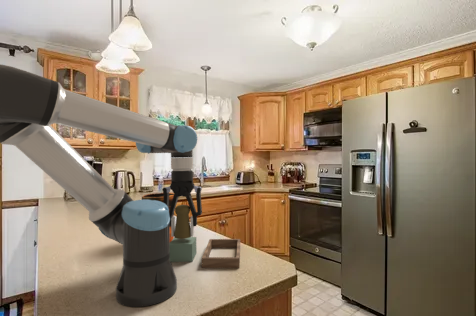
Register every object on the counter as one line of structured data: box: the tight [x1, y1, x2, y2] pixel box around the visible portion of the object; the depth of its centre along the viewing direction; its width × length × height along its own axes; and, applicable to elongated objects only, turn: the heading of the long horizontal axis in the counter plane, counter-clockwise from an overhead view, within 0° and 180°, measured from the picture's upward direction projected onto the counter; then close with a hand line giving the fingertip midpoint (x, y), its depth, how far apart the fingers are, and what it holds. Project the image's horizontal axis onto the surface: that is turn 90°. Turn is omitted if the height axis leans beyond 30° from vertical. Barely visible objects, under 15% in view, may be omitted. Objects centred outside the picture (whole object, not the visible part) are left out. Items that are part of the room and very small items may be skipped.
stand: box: [170, 236, 197, 263], centre depth 95 cm, size 8×8×6 cm
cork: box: [174, 204, 191, 239], centre depth 95 cm, size 6×6×11 cm
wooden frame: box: [201, 238, 241, 269], centre depth 95 cm, size 20×12×3 cm, turn 179°
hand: (183, 235), depth 95 cm, fingers closed on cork, 6 cm apart
